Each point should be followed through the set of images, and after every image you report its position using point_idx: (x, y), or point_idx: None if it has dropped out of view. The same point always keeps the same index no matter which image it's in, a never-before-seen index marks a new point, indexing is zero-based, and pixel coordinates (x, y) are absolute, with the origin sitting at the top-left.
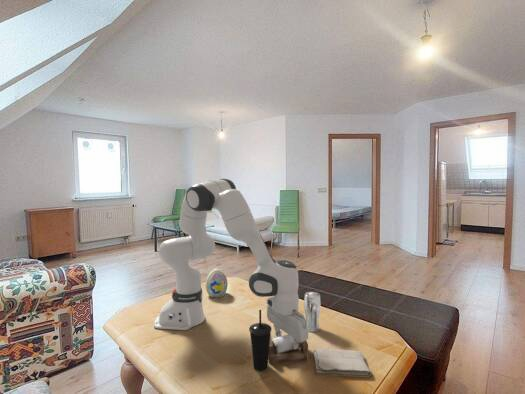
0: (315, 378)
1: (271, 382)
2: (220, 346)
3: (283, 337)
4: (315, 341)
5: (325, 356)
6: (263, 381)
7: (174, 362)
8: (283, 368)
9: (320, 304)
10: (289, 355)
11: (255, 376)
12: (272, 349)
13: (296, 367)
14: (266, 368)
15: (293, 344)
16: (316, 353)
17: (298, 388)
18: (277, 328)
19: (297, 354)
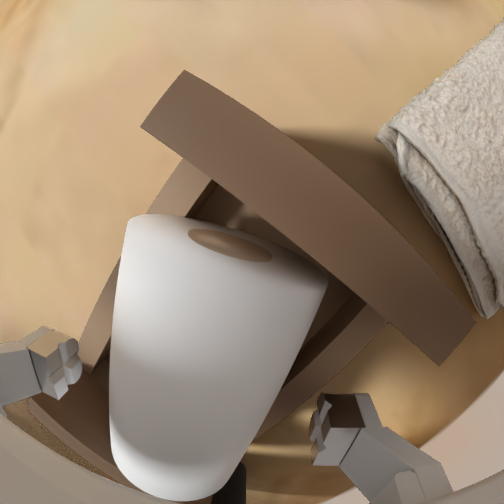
0: (479, 347)
1: (322, 484)
2: (35, 428)
3: (171, 466)
4: (263, 10)
5: (502, 182)
6: (292, 494)
7: None
8: (307, 424)
9: None
10: (300, 402)
11: (247, 495)
12: (211, 497)
13: (366, 372)
14: (245, 469)
15: (348, 467)
16: (434, 177)
17: (431, 436)
18: (10, 382)
19: (350, 357)
